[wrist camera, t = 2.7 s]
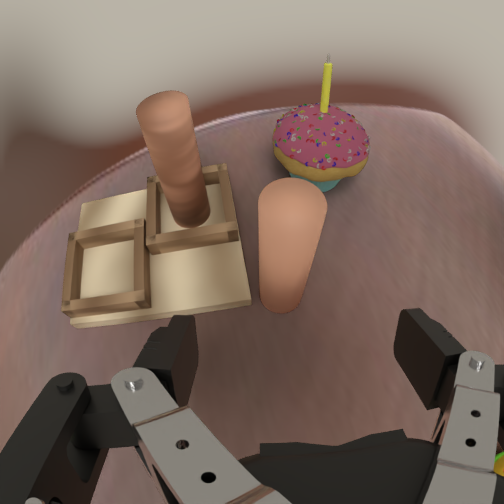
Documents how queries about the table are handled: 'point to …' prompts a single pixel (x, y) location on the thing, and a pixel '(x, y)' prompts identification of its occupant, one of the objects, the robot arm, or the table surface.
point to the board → (158, 235)
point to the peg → (288, 240)
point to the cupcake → (321, 141)
